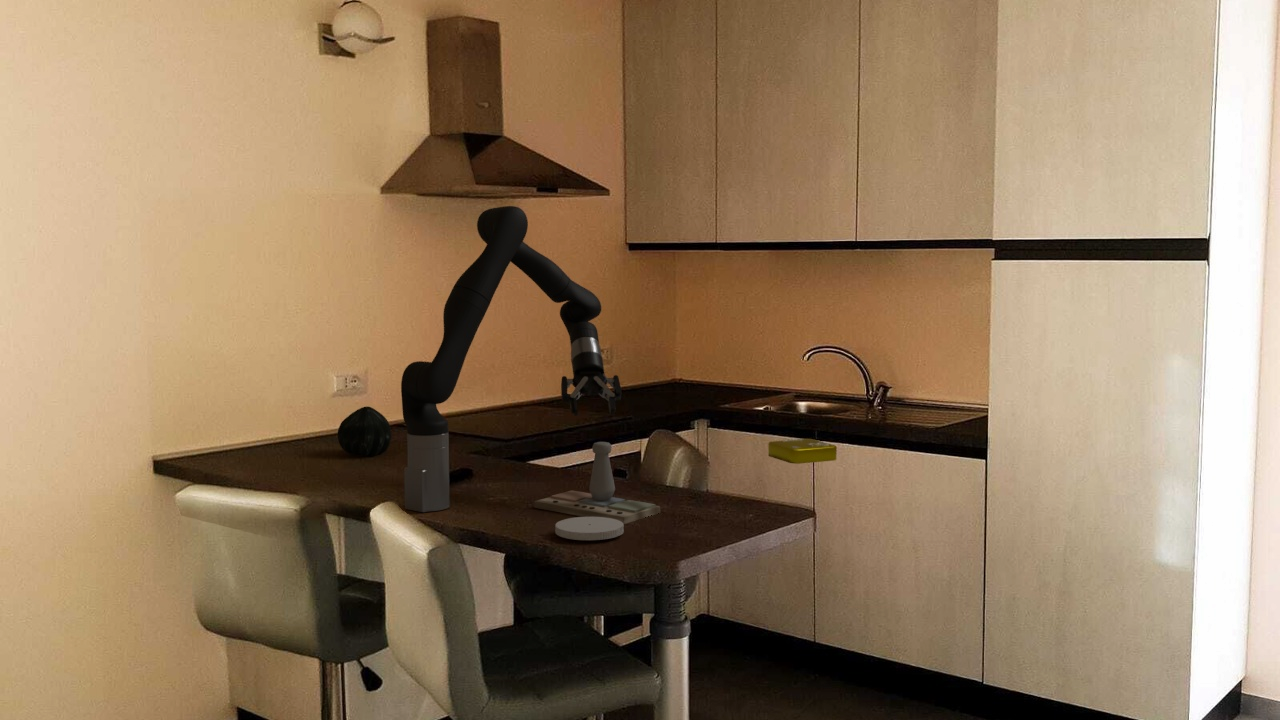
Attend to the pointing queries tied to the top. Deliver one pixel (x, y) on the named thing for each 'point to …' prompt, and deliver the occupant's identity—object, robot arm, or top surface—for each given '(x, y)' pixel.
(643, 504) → the board
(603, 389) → the robot arm
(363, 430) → the squash
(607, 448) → the salt shaker
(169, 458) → the top surface
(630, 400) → the top surface
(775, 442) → the yellow flat block
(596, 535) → the plastic lid
